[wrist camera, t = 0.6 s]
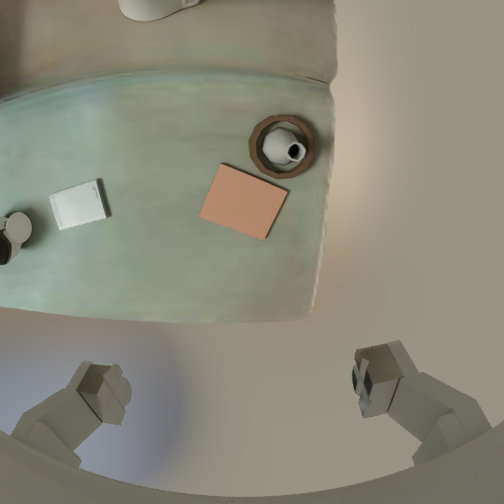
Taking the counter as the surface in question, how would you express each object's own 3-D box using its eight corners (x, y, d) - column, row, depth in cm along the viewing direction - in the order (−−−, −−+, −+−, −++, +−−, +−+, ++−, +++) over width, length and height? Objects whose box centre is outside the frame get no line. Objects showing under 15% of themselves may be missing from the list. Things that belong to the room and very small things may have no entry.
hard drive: (96, 179, 46) (48, 196, 45) (106, 218, 50) (59, 231, 49) (99, 177, 47) (51, 193, 46) (109, 215, 51) (62, 228, 50)
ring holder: (265, 105, 46) (267, 104, 44) (320, 133, 50) (324, 133, 48) (238, 161, 50) (239, 163, 48) (294, 186, 54) (297, 188, 52)
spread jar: (-4, 234, 46) (-29, 255, 36) (5, 196, 43) (-25, 213, 33) (28, 258, 51) (4, 283, 40) (38, 221, 48) (11, 243, 37)
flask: (276, 120, 48) (291, 120, 39) (305, 142, 50) (326, 147, 41) (254, 150, 50) (264, 157, 41) (284, 171, 52) (300, 182, 43)
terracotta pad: (220, 163, 50) (220, 163, 49) (286, 190, 54) (287, 191, 53) (198, 215, 54) (198, 216, 53) (262, 238, 58) (263, 240, 57)
